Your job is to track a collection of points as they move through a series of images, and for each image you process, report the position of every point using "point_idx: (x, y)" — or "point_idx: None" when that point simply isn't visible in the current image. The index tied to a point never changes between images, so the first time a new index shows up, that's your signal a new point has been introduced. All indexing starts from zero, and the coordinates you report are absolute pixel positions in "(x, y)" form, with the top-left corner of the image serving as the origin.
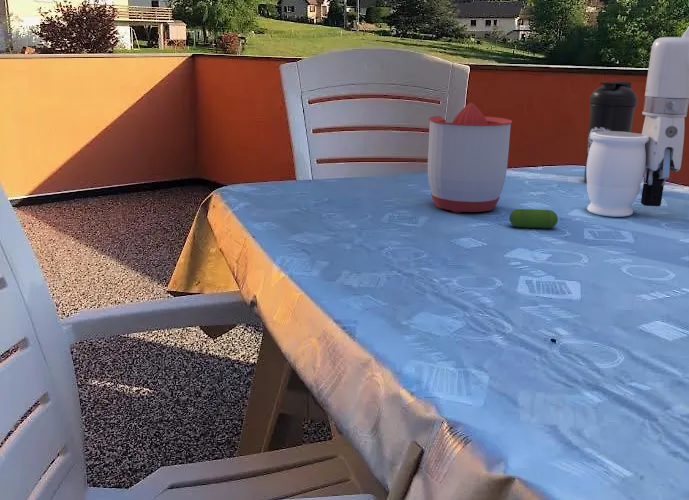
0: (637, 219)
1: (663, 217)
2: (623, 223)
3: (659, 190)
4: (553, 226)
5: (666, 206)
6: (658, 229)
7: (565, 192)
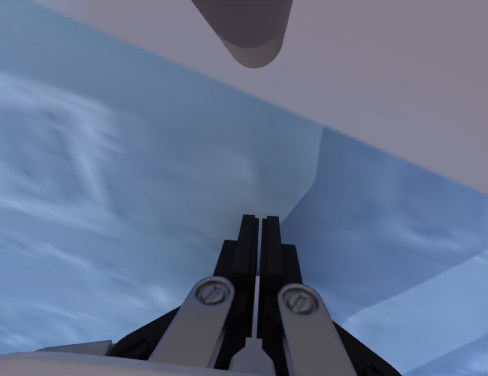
0: (338, 284)
1: (309, 196)
2: (386, 333)
3: (301, 281)
4: None
5: (114, 110)
6: (476, 275)
7: (26, 336)
